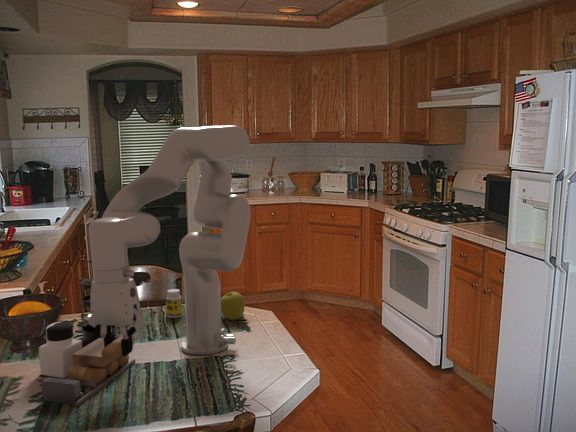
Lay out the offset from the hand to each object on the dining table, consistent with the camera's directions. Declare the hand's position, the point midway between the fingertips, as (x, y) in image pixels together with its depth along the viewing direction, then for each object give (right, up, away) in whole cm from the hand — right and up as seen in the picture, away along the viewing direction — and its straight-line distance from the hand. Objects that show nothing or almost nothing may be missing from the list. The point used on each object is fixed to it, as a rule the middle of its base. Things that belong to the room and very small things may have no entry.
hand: (119, 352), depth 125 cm
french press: (-16, -4, +35) cm, 39 cm away
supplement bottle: (+1, -2, +54) cm, 54 cm away
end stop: (-11, -10, -4) cm, 15 cm away
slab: (-8, -4, +11) cm, 14 cm away
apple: (+20, -2, +51) cm, 55 cm away
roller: (0, 0, 0) cm, 0 cm away
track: (-9, -8, +6) cm, 13 cm away
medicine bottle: (-17, -8, +12) cm, 23 cm away
